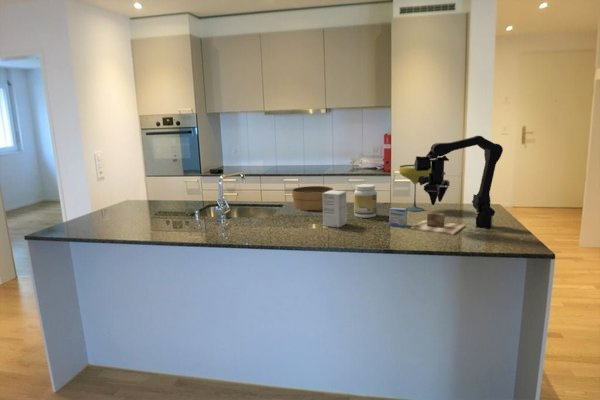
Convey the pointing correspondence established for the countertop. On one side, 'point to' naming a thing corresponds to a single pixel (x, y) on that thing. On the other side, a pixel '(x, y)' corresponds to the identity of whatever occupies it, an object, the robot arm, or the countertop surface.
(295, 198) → the steamer basket
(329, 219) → the supplement box
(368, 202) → the supplement tub
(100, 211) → the countertop surface
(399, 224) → the medicine box
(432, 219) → the block
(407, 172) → the cocktail glass
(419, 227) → the birch board
